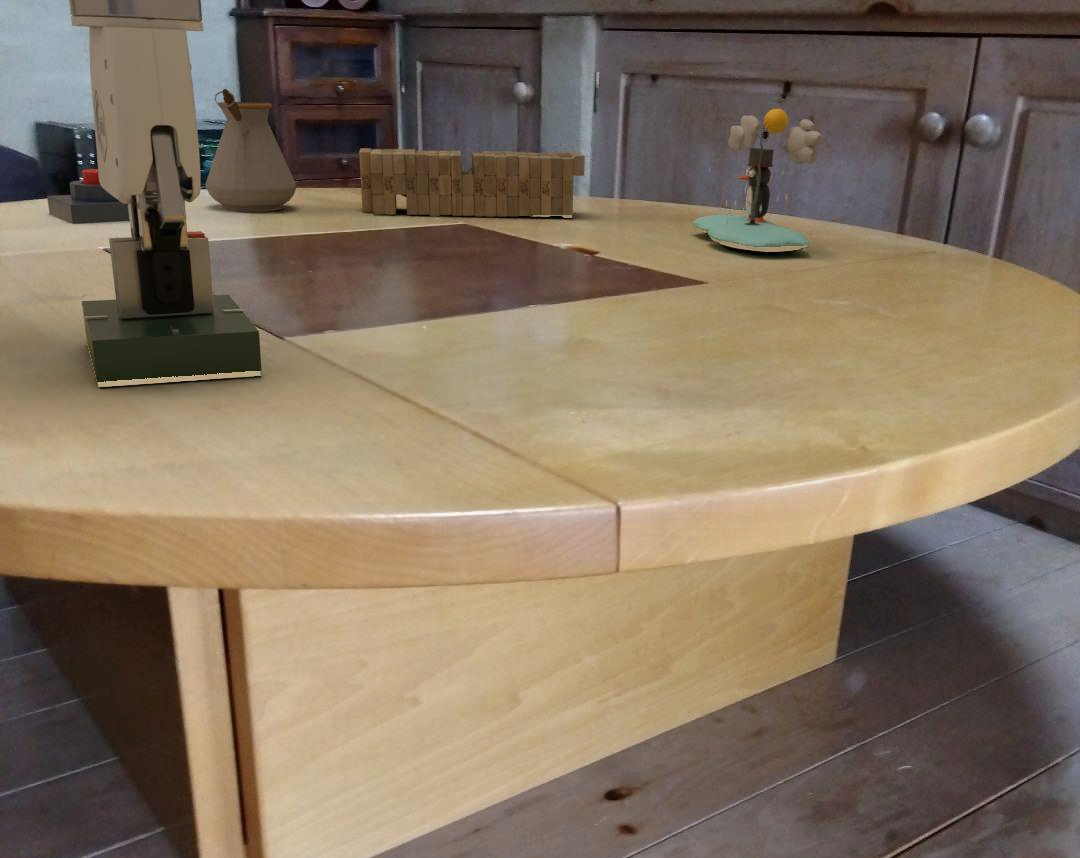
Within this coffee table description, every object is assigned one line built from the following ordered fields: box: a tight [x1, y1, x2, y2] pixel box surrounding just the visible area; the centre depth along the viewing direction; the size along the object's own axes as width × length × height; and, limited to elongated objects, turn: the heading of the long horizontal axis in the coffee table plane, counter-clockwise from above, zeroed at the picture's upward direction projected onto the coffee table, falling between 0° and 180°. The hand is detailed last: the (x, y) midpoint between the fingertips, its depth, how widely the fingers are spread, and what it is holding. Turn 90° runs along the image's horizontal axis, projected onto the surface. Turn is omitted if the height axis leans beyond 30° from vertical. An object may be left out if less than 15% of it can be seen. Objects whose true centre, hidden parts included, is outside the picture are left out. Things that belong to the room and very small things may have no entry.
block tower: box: [358, 147, 586, 217], centre depth 149 cm, size 8×8×29 cm
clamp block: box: [81, 294, 263, 383], centre depth 75 cm, size 10×12×3 cm
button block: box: [46, 179, 130, 225], centre depth 134 cm, size 10×9×4 cm
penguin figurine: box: [691, 108, 823, 247], centre depth 130 cm, size 20×11×15 cm, turn 6°
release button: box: [81, 168, 100, 185], centre depth 133 cm, size 4×4×2 cm
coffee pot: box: [205, 88, 297, 213], centre depth 140 cm, size 21×12×15 cm, turn 5°
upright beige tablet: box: [108, 230, 214, 319], centre depth 74 cm, size 6×1×5 cm, turn 117°
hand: (165, 307), depth 75 cm, fingers closed
